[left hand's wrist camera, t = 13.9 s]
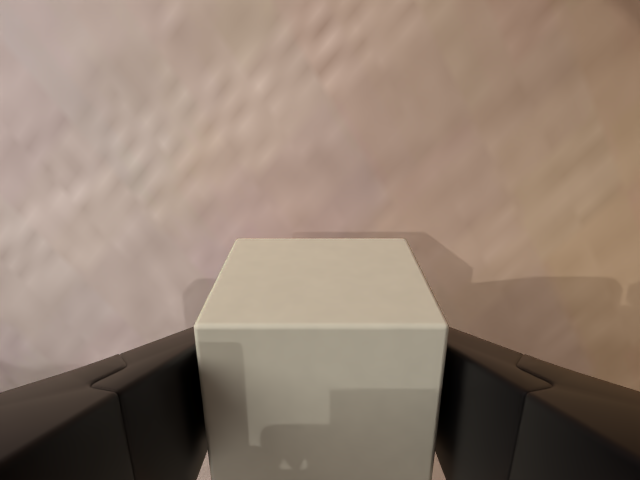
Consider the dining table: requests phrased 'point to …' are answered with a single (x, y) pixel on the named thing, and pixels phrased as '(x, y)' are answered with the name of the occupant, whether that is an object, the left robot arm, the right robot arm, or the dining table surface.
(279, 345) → the block
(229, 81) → the dining table surface
